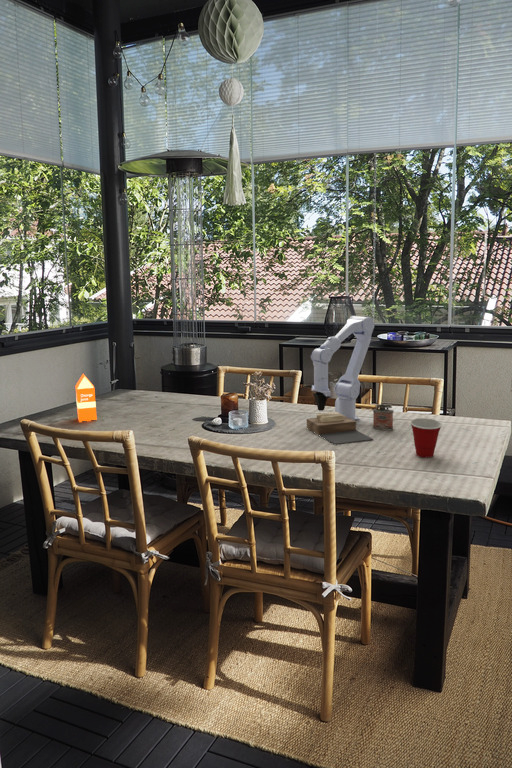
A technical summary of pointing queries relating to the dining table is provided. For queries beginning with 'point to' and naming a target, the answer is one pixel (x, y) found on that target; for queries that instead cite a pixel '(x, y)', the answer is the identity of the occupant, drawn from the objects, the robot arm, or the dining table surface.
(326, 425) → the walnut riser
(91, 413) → the orange juice
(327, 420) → the birch tile
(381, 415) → the lighter
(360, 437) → the rubber mat
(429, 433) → the plastic cup
